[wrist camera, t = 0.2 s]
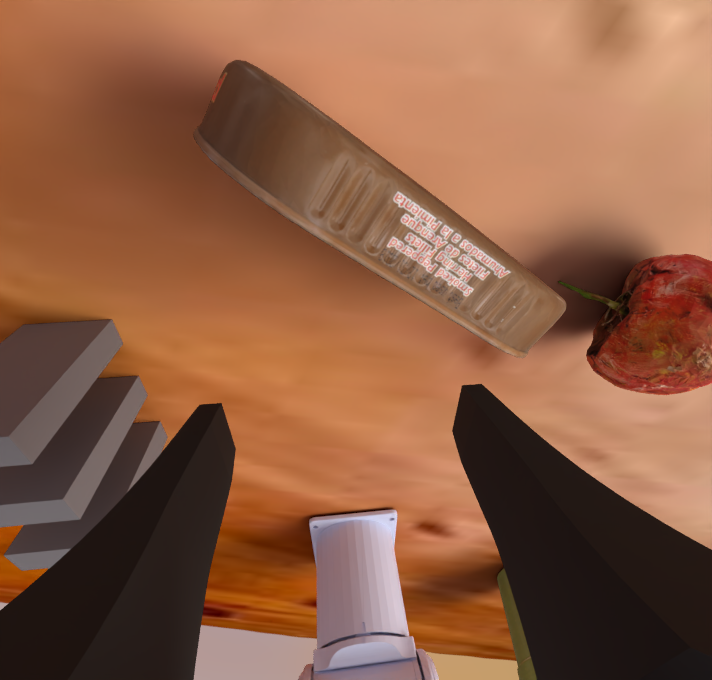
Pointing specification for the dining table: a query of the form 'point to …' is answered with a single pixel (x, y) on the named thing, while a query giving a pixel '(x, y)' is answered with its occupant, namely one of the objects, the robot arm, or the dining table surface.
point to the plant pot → (516, 630)
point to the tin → (370, 209)
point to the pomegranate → (657, 327)
